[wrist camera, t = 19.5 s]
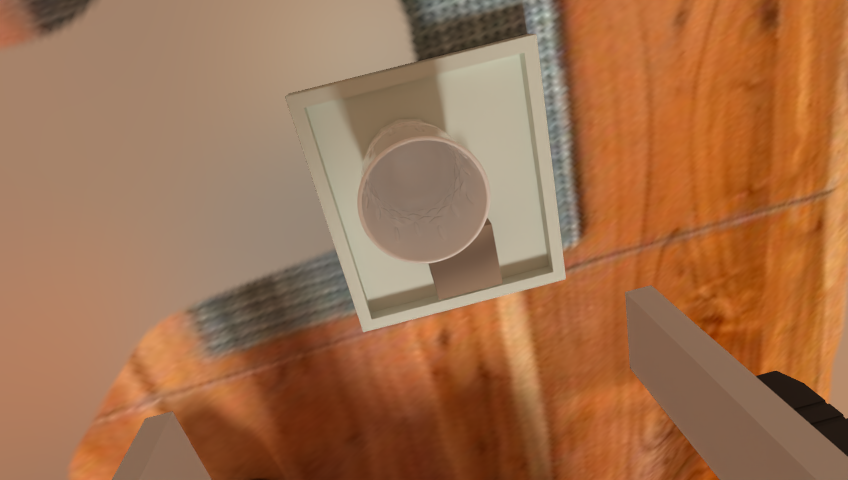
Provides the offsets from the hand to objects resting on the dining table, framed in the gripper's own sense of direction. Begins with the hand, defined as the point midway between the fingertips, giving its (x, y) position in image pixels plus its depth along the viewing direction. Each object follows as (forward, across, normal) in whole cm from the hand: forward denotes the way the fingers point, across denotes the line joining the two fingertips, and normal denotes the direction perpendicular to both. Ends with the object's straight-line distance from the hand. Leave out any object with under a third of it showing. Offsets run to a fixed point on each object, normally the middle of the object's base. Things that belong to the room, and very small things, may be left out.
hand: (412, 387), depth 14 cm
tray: (+27, -4, +4) cm, 27 cm away
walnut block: (+26, -4, +8) cm, 27 cm away
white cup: (+26, -2, 0) cm, 26 cm away
